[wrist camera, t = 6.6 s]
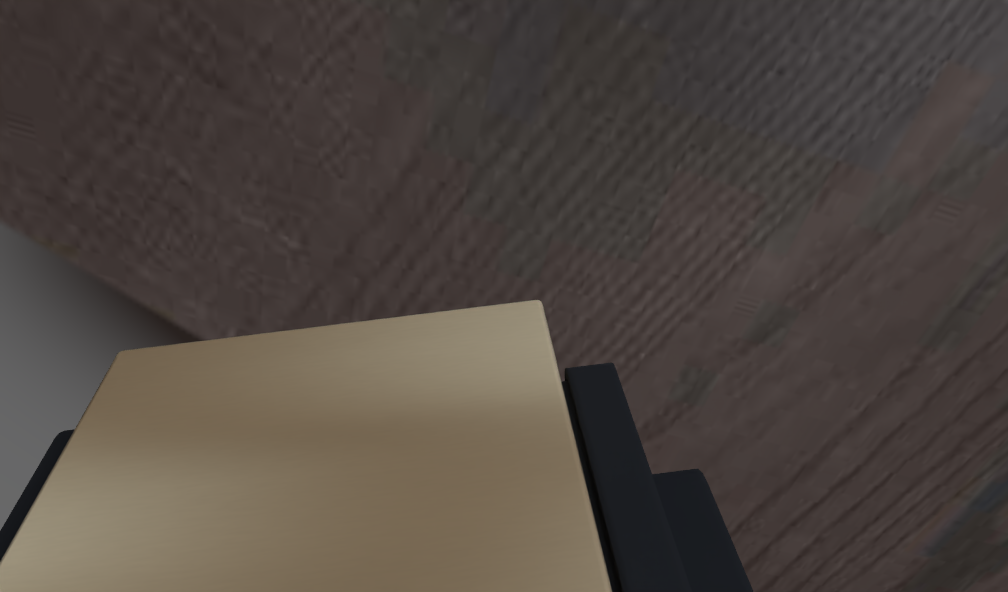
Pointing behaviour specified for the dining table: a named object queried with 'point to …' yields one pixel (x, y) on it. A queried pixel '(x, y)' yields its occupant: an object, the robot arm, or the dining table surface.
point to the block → (323, 466)
